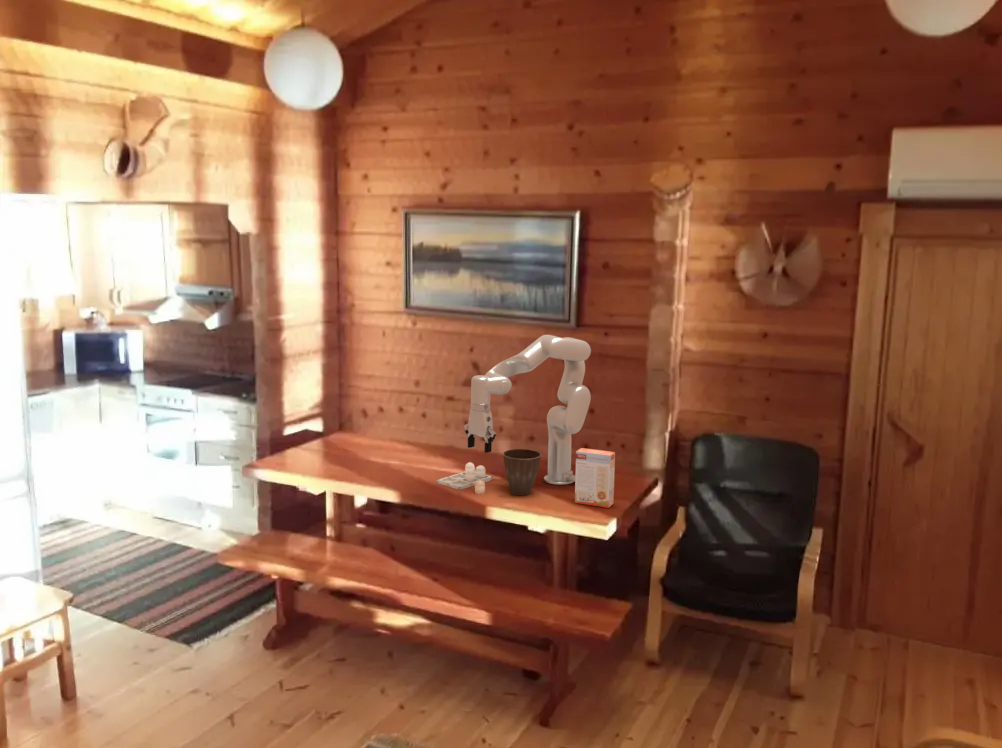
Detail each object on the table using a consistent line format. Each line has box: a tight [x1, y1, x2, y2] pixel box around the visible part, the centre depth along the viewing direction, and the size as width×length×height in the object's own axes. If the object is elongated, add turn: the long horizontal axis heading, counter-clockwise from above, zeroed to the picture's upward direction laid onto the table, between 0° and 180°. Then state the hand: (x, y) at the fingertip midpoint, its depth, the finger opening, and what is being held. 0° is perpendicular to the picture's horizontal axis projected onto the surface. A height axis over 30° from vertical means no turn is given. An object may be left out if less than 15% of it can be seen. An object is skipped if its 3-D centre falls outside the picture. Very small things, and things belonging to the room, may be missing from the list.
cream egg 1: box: [464, 461, 476, 473], centre depth 364 cm, size 4×4×6 cm
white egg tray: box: [436, 471, 494, 491], centre depth 358 cm, size 13×19×2 cm
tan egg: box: [474, 480, 486, 495], centre depth 343 cm, size 4×4×6 cm
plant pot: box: [502, 448, 542, 496], centre depth 346 cm, size 15×15×16 cm
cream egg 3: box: [475, 464, 486, 479], centre depth 360 cm, size 4×4×6 cm
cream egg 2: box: [465, 468, 476, 483], centre depth 355 cm, size 4×4×6 cm
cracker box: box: [574, 447, 616, 509], centre depth 333 cm, size 14×6×21 cm, turn 63°
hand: (479, 449), depth 343 cm, fingers open, 9 cm apart
